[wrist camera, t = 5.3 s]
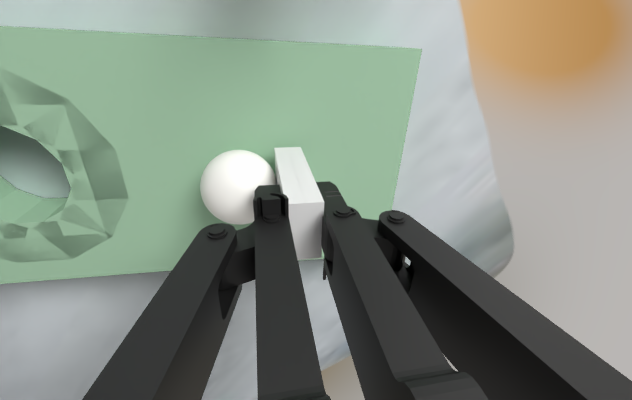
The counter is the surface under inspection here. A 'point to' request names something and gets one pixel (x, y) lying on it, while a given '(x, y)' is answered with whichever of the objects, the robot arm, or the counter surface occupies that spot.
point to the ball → (234, 185)
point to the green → (182, 136)
